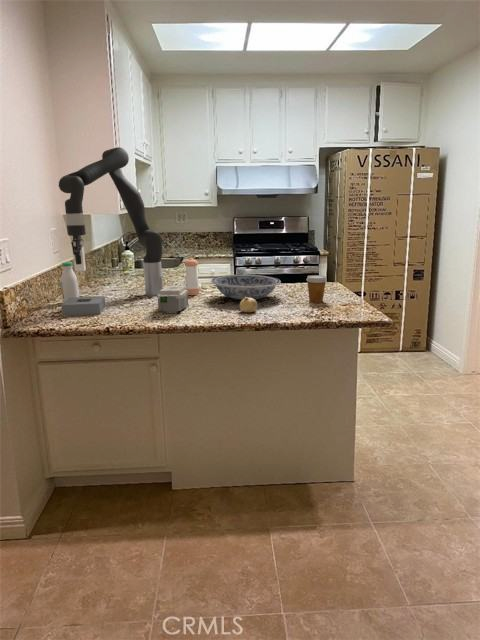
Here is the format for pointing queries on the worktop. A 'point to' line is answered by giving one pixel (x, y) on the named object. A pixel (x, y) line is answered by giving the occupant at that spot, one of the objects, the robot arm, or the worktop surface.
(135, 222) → the robot arm
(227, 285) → the ceramic bowl
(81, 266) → the plug
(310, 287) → the disposable coffee cup
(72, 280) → the milk bottle
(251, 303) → the onion
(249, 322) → the worktop surface
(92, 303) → the socket block
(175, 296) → the grey box
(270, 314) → the worktop surface
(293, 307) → the worktop surface
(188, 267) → the pepper shaker
